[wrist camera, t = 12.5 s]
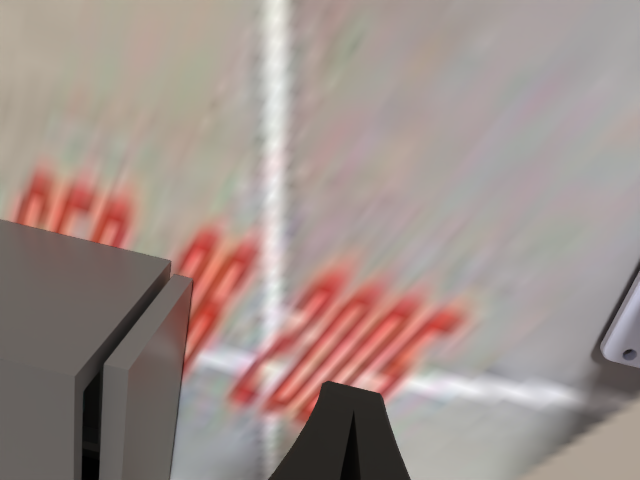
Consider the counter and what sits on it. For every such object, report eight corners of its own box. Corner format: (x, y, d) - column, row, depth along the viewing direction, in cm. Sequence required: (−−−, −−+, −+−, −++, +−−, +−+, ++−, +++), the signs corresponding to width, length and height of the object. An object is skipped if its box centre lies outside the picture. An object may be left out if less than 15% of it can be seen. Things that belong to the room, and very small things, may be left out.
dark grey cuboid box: (171, 261, 22) (74, 376, 15) (150, 476, 28) (71, 632, 21) (-61, 204, 22) (-257, 294, 16) (-37, 429, 28) (-174, 568, 21)
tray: (192, 278, 22) (128, 370, 17) (168, 481, 27) (113, 601, 22) (-36, 223, 22) (-173, 295, 17) (-17, 434, 27) (-118, 542, 22)
